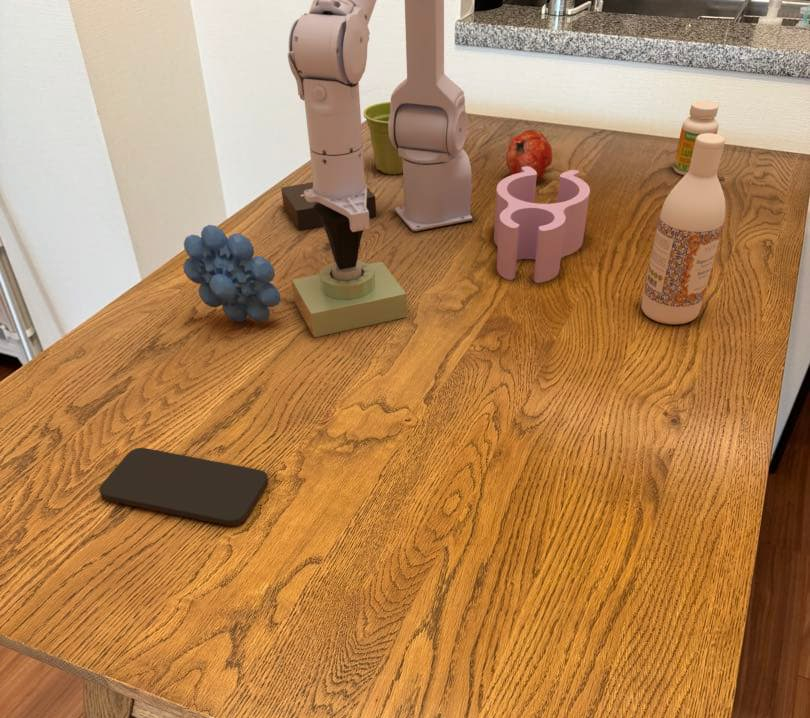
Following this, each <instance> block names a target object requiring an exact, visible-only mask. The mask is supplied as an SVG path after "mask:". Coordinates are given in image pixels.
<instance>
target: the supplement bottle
mask: <svg viewBox="0 0 810 718" xmlns="http://www.w3.org/2000/svg"><path fill="white" fill-rule="evenodd" d="M718 111H719V104H718V103H717V102H714V101H711V100H695V101H693V102H692V103H691V105H690V109H689V116H688V117H686V118H685V119H684V120H683V122H682V124H681V125H682V126H681V130H680V132H679V133H680V134H679V138H678V144H677V147H676V153H675V157H674V162H673V171H674V172H675V173H677V174H679V175H681V176H683V177H684V176H685V175H686V174H687V173H688V172H689V168H690V163H691V158H692V154H693V149H694V145H695V141H696V138H697V136H698V135H700V134H705V133H713V134H718V131H719V125H720V124H719V122H718V120H717V119H716V117H717V115H718Z"/></svg>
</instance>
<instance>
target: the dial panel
mask: <svg viewBox="0 0 810 718" xmlns="http://www.w3.org/2000/svg"><path fill="white" fill-rule="evenodd" d="M312 188H313V181H311V182H305V183H301V184H300V183H299V184H293V185H288V186H284V187H282V186H281V187H280V190H281V197H282V205H283V209H284V210H285V212H286V213H287V214H288V217H290V219H291V221H292V222H293V224H294V225H295V227H296V229H297V230H298V231H299V232H301V231H307V230H311V229H317V228H322V227H324V226H323V224H322V222H321V220H320V218H319V216H318V214H317V213H316V211H315V209H314V205H315V204H317V203H319V202H311V203H310V202H308V201H307V200H306V199H305V197H304V191H305V190H308V189H312ZM366 207H367V208H368V209H369V211H370V218H375V217H377V203H376V195H374V193H373V192H372V191H371V190H370V189H369V187H367V206H366Z"/></svg>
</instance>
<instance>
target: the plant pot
mask: <svg viewBox="0 0 810 718" xmlns="http://www.w3.org/2000/svg"><path fill="white" fill-rule="evenodd" d="M390 106H391V101H386V102H385V101H384V102H378V103H374V104H372V105H369V106H368V107H366V108H365V109H364V110H363V111H362V112H363V117H364V118H365V119H366V124H367V127H368V128H369V134H370V139H371V146H372V151H373V156H374V157H373V158H374V163H375V168H376V170H377V171H380V172H382V174H385V175H401V174H403V157H399V156H398V149H395V148H394V147H393V145H392V143H391V141H390V138H389V132H388V123H389V116H390Z"/></svg>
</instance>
